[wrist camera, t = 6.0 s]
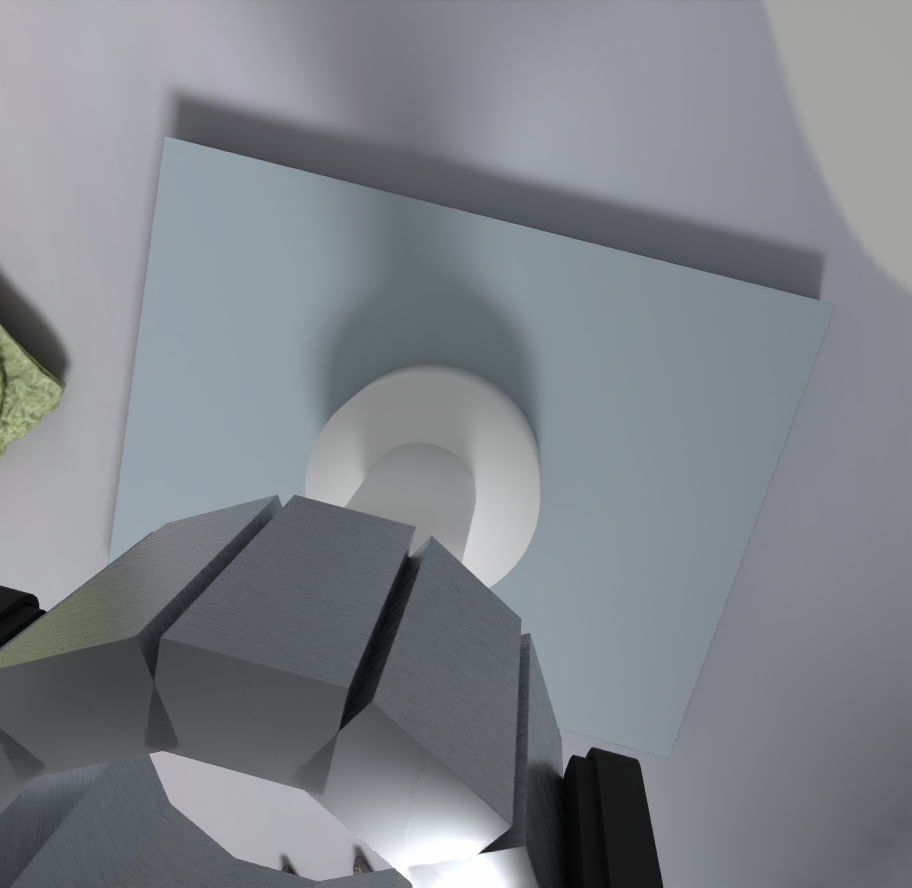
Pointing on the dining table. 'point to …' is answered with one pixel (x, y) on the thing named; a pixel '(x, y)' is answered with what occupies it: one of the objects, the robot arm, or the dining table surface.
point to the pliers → (358, 867)
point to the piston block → (470, 409)
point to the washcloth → (23, 391)
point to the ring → (281, 708)
